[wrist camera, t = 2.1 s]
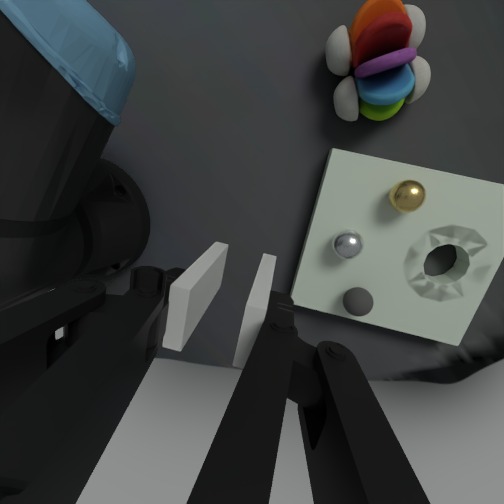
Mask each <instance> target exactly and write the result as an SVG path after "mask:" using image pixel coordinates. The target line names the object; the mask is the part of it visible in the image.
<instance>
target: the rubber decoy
mask: <svg viewBox="0 0 504 504" xmlns="http://www.w3.org/2000/svg"><path fill="white" fill-rule="evenodd" d="M373 304H374V301H373V297H372V295H371V294H370V293H369V292H368V291H367V290H366V289H364V288H361V287H354V288H351V289H349V290H348V291H347V292H346V293H345V294H344V296H343V306H344V308H345V309H346V311H347V312H348V313H350V314H351V315H353V316H365V315H367V314H368V313H369V312H370V311H371V310H372V308H373Z"/></svg>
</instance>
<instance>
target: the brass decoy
mask: <svg viewBox="0 0 504 504" xmlns="http://www.w3.org/2000/svg"><path fill="white" fill-rule="evenodd" d="M425 200H426V190H425V188H424V186H423V185H422V184H421V183H420V182H418V181H416V180H403V181H400V182H398V183H397V184H396V185H395V186H394V187H393V188H392V189H391V191H390V194H389V201H390V204H391V206H392V207H393V208H394V209H395V210H397V211H399V212H402V213H410V212H414V211H416V210H417V209H419V208H420V207H421V206H422V205H423V204H424V202H425Z"/></svg>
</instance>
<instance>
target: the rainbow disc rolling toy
mask: <svg viewBox="0 0 504 504" xmlns="http://www.w3.org/2000/svg"><path fill="white" fill-rule="evenodd" d="M425 28H426V21H425V16H424V14H423V12H422V11H421V10H420V9H419V8H418V7H416V6H414V5H403V3H402V2H401V1H400V0H368V1H367V2H366V3H364V5H363V6H362V7H361V8H360V9H359V11H358V12H357V14H356V16H355V18H354V20H353V23H352V25H351V27H350V29H349V31H347V29H346V27H345V26H344V25H342V26H340V27H338V28H337V29H336V30H335V31H334V32H333V33H332V34H331V35H330V37H329V38H328V40H327V43H326V46H325V54H326V62H327V66H328V69H329V70H330V71H331V72H332V73H334V74H336V75H339V76H347V75H348V73H349V70H350V67H351V66H352V68H355V71H354V74H355V78H353V77H352V76H348V77H346V78H345V79H343V80H342V81H341V82H340V83H339V85H338V86H337V87H336V89H335V92H334V96H333V99H334V107H335V111H336V114H337V115H338V116H339V117H340V118H342V119H343V120H346V121H356V120H357V118H358V114H359V112H360V113H361V114H363V115H364V116H365V117H367V118H369V119H371V120H375V121H381V120H385V119H388V118H390V117H392V116H393V115H394V114H396V113H397V111H398V110H399V109H400V108H401V106H402V105H403V103H404V102H405V103H407V104H409V103H412V102H414V101H416V100H417V99H418V98H419V97H421V96H422V94H423V93H424V92H425V91H426V89H427V87H428V85H429V82H430V76H431V72H430V67H429V65H428V63H427V62H426V61H425V60H424V59H423V58H421V57H419V56H416V55H417V51H416V49H417V47H418V46H419V45H420V43H421V41H422V39H423V37H424V34H425Z"/></svg>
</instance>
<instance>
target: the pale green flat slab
mask: <svg viewBox="0 0 504 504" xmlns="http://www.w3.org/2000/svg"><path fill="white" fill-rule="evenodd" d="M403 180H416V181H418V182H420V183H421V184H422V185H423V186H424V188H425V190H426V200H425V202H424V204H423V205H422V206H421V207H420V208H419V209H417V210H416V211H414V212H410V213H402V212H399V211H397V210H395V209H394V208H393V207H392V206H391V204H390V201H389V194H390V191H391V189H392V188H393V187H394V186H395V185H396V184H397V183H398V182H400V181H403ZM345 229H351V230H355V231H357V232H358V233H359V234H360V235H361V236H362V238H363V241H364V248H363V251H362V252H361V254H360V255H359V256H358V257H356V258H354V259H350V260H345V259H342V258H340V257H338V256H337V255H336V254H335V253H334V251H333V249H332V240H333V238H334V236H335V235H336V234H337V233H338V232H339V231H341V230H345ZM446 244H452V245H453V246H454V247H455V248H456V253H457V259H456V261H455V263H454V265H453V267H452V268H451V269H450V270H448V271H447V272H446V273H444V274H442V275H437V276H429V275H425V273H424V268H423V264H424V261H425V259H426V256H427V254H429V253H430V252H431V251H432V250H433V249H435V248H436V247H438V246H442V245H446ZM503 257H504V185H503V184H498V183H493V182H489V181H484V180H479V179H475V178H470V177H465V176H461V175H456V174H451V173H447V172H442V171H437V170H433V169H428V168H423V167H419V166H414V165H409V164H405V163H400V162H395V161H391V160H386V159H381V158H377V157H372V156H367V155H363V154H358V153H353V152H349V151H344V150H339V149H335V148H332V149H330V151H329V155H328V158H327V162H326V165H325V169H324V173H323V176H322V180H321V183H320V187H319V191H318V194H317V198H316V201H315V205H314V209H313V212H312V216H311V219H310V223H309V227H308V230H307V234H306V237H305V241H304V245H303V248H302V252H301V255H300V259H299V263H298V266H297V270H296V274H295V277H294V281H293V284H292V288H291V292H290V296H291V298H292V299H293V300H294V304H295V305H299V306H302V307H306V308H310V309H314V310H318V311H322V312H326V313H330V314H334V315H338V316H342V317H346V318H350V319H354V320H357V321H361V322H365V323H369V324H373V325H377V326H381V327H385V328H389V329H393V330H397V331H401V332H405V333H409V334H413V335H416V336H420V337H424V338H428V339H432V340H436V341H440V342H444V343H448V344H452V345H456V346H458V345H459V343H460V341H461V339H462V337H463V335H464V333H465V332H466V330H467V328H468V326H469V324H470V322H471V320H472V318H473V316H474V314H475V312H476V310H477V308H478V306H479V304H480V302H481V300H482V298H483V296H484V294H485V292H486V290H487V289H488V287H489V285H490V283H491V281H492V279H493V277H494V275H495V273H496V271H497V269H498V267H499V265H500V263H501V261H502V259H503ZM354 287H361V288H364V289H366V290H367V291H368V292H369V293H370V294H371V295H372V297H373V301H374V304H373V308H372V310H371V311H370V312H369V313H368V314H367V315H365V316H353V315H351V314H350V313H348V312H347V311H346V309H345V308H344V306H343V296H344V294H345V293H346V292H347V291H348V290H349V289H351V288H354Z"/></svg>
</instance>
